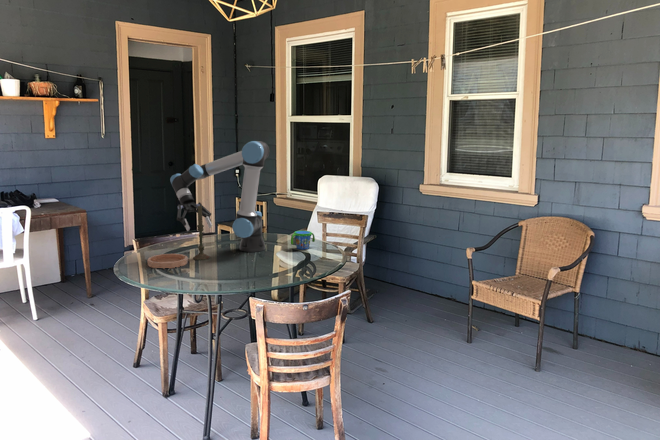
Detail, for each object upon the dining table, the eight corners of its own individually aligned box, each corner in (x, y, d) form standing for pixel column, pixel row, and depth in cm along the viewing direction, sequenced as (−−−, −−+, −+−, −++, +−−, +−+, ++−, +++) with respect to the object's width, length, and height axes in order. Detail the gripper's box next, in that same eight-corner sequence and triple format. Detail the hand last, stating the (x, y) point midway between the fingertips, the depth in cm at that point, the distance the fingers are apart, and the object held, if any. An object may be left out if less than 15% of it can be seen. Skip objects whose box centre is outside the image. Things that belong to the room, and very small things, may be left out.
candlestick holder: (205, 260, 286) (203, 206, 280) (190, 259, 287) (188, 205, 282) (212, 256, 294) (211, 203, 289) (197, 255, 296) (195, 203, 291)
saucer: (188, 258, 291) (188, 253, 290) (186, 267, 271) (185, 262, 271) (150, 259, 287) (150, 254, 286) (145, 269, 267) (145, 263, 267)
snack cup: (311, 245, 325) (311, 229, 323) (318, 249, 316) (318, 232, 314) (287, 248, 318) (287, 231, 317) (294, 251, 309) (294, 234, 307)
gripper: (203, 200, 307) (217, 229, 298) (162, 204, 290) (176, 235, 282) (207, 192, 302) (222, 221, 294) (166, 195, 285) (181, 226, 277)
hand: (199, 228), depth 288 cm, fingers open, 13 cm apart
